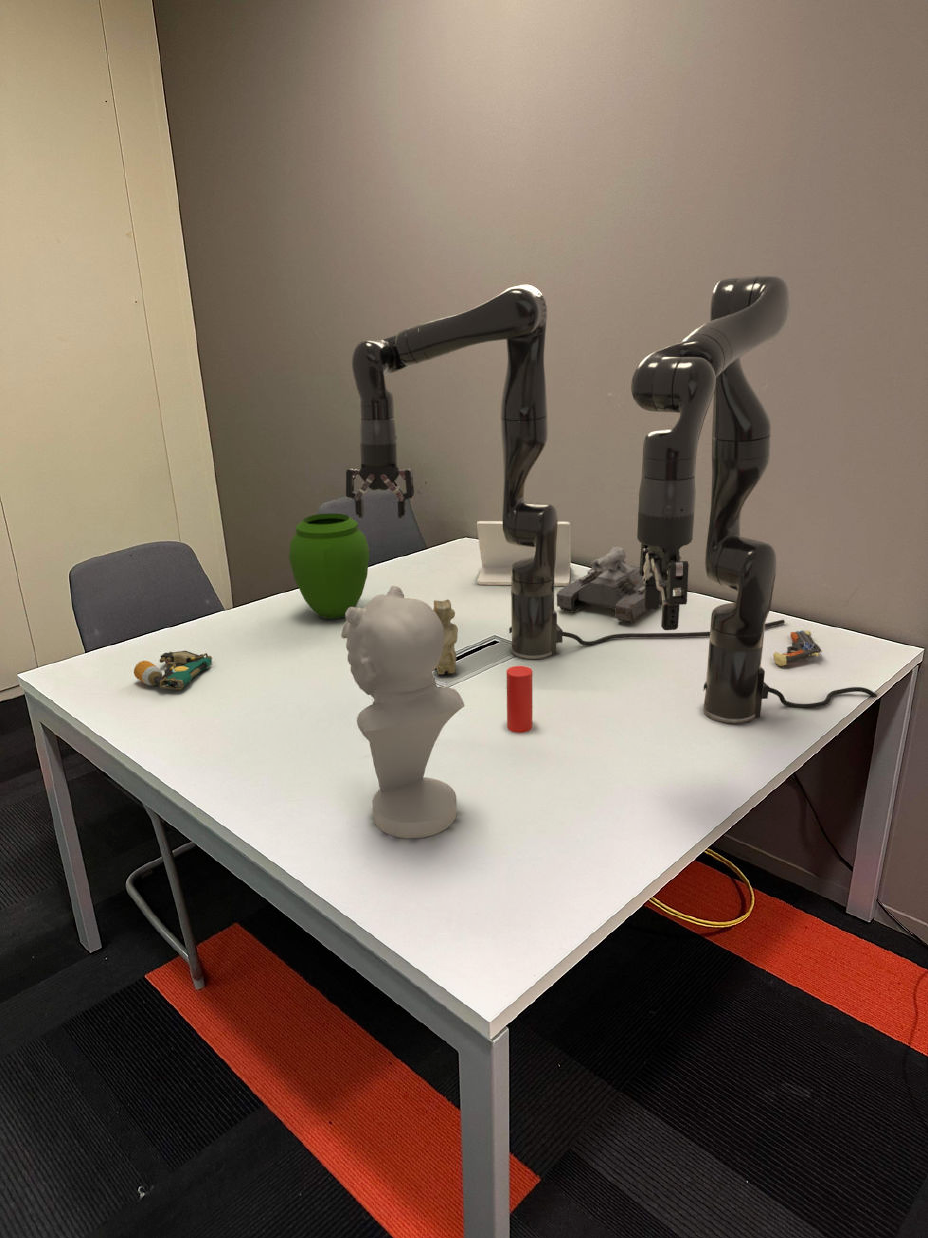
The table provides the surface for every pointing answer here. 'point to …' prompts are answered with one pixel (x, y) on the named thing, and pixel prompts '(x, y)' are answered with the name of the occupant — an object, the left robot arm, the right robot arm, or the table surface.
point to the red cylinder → (519, 698)
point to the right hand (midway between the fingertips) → (660, 618)
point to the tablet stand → (517, 554)
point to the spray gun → (172, 669)
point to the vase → (329, 563)
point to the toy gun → (798, 649)
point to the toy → (608, 588)
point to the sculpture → (447, 636)
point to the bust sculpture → (402, 709)
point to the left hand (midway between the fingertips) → (381, 517)
